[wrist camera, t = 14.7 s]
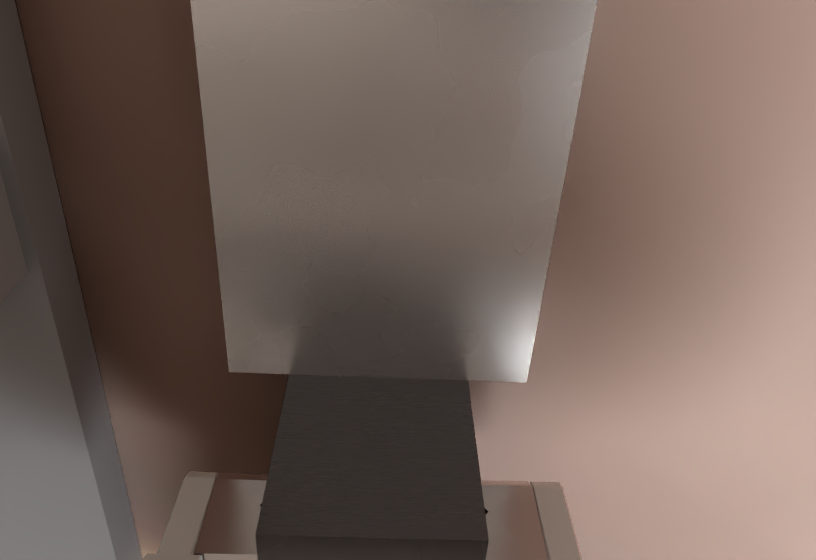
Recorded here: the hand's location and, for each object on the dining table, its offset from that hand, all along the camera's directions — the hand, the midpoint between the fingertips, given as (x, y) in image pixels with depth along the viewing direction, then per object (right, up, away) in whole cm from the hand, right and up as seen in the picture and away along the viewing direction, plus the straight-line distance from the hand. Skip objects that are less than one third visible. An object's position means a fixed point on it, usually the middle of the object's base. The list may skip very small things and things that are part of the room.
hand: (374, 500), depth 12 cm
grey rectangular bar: (0, +3, 0) cm, 3 cm away
